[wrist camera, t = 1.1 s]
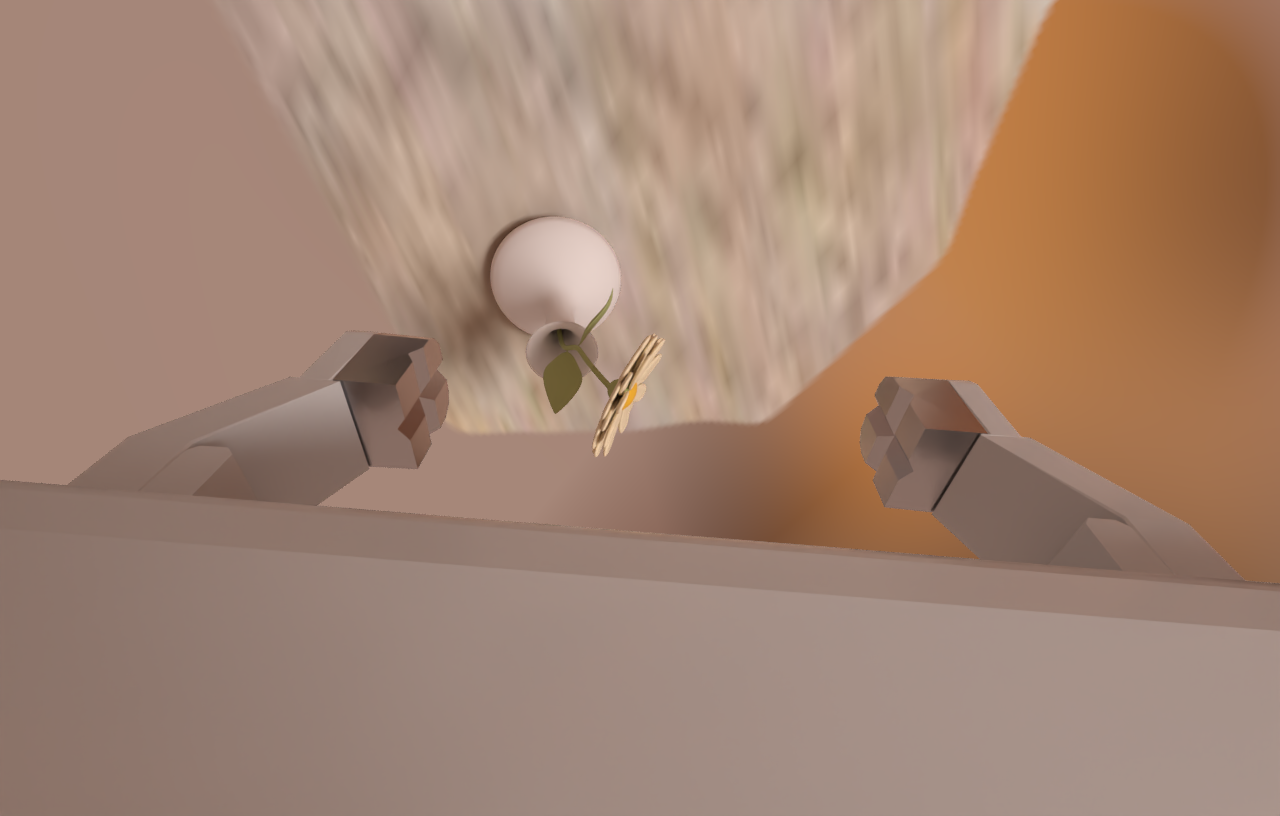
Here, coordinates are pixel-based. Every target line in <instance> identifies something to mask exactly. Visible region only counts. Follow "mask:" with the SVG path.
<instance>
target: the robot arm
mask: <svg viewBox="0 0 1280 816" xmlns="http://www.w3.org/2000/svg"><path fill="white" fill-rule="evenodd" d="M442 360H443V358H442V353H441V349H440V345H439V343H438V342H437V341H436V340H435V339H434V338H426V337H417V336H407V335H397V334H387V333H378V332H368V331H346V332H345V333H344V334H343V335H342V336H341V337H340V338H339V339H338V340H337V341H336V342H335V343H334V344H333V345H332V346H331V347H330V348H329V349H328V350H327V351H326V352H325V353H324V354H323V355H322V356H321V357H320V358H319V359H317V360H316V361H315V363H313V364H312V365H311V366H310V367H309V368H308V369H307V370H306V371H305V372H304V373H303V374H302V375H301V376H300V377H299V378H296V377H288V378H286V379H283V380H281V381H278V382H275V383H273V384H270V385H267V386H264V387H262V388H259V389H256V390H253V391H251V392H248V393H245V394H243V395H240V396H237V397H235V398H232V399H229V400H226V401H224V402H221V403H219V404H216V405H213V406H210V407H208V408H205V409H202V410H200V411H197V412H195V413H192V414H189V415H186V416H184V417H181V418H178V419H175V420H173V421H170V422H167V423H165V424H162V425H159V426H157V427H154V428H151V429H148V430H146V431H143V432H141V433H138V434H135V435H132V436H130V437H128V438H126V439H125V440H124V441H123V442H121V443H120V444H119V445H117V446H116V447H115V448H113V449H112V450H111V451H110V452H108V453H107V454H106V455H105V456H103V457H102V458H101V459H100V460H98V461H97V462H96V463H94V464H93V465H92V466H91V467H89V468H88V469H87V470H86V471H84V472H83V473H82V474H80V475H79V476H78V477H77V478H75V479H74V480H73V481H72V482H70V483H69V484H68V485H57V484H43V483H32V482H20V481H7V480H0V816H1280V584H1279V583H1267V582H1253V581H1245V580H1244V579H1243V578H1242V577H1241V576H1240V575H1239V574H1238V573H1237V572H1236V571H1235V570H1234V569H1233V568H1232V567H1231V566H1230V565H1229V564H1228V563H1227V562H1226V561H1225V560H1224V559H1223V558H1222V557H1221V556H1220V555H1219V554H1218V553H1217V552H1216V551H1215V550H1214V549H1213V548H1212V547H1211V546H1210V545H1209V544H1208V543H1207V542H1206V541H1205V540H1204V539H1203V538H1202V537H1201V536H1200V535H1199V534H1198V533H1197V532H1196V531H1195V530H1194V529H1193V528H1192V527H1191V526H1190V525H1189V524H1187V523H1185V522H1183V521H1182V520H1180V519H1178V518H1176V517H1174V516H1172V515H1170V514H1169V513H1167V512H1165V511H1163V510H1161V509H1160V508H1158V507H1156V506H1154V505H1152V504H1150V503H1149V502H1147V501H1145V500H1143V499H1141V498H1139V497H1137V496H1136V495H1134V494H1132V493H1130V492H1128V491H1126V490H1125V489H1123V488H1121V487H1119V486H1117V485H1116V484H1114V483H1112V482H1110V481H1108V480H1106V479H1105V478H1102V477H1101V476H1099V475H1097V474H1095V473H1093V472H1092V471H1090V470H1088V469H1086V468H1084V467H1083V466H1081V465H1079V464H1077V463H1075V462H1073V461H1072V460H1070V459H1068V458H1066V457H1064V456H1062V455H1060V454H1059V453H1057V452H1055V451H1053V450H1051V449H1050V448H1048V447H1046V446H1044V445H1042V444H1040V443H1039V442H1037V441H1035V440H1033V439H1031V438H1025V437H1021V436H1020V435H1019V434H1018V433H1017V431H1016V430H1015V429H1014V428H1013V427H1012V425H1011V424H1010V423H1009V422H1008V421H1007V419H1006V418H1005V417H1004V416H1003V415H1002V413H1001V412H1000V411H999V410H998V409H997V407H996V406H995V405H994V404H993V402H992V401H991V400H990V399H989V398H988V396H987V395H986V394H985V393H984V392H983V390H982V389H981V388H980V387H979V386H978V384H975V383H973V382H971V381H959V380H937V379H936V380H935V379H919V378H902V377H885V378H884V379H883V381H882V382H881V383H880V384H879V386H878V389H877V391H876V393H875V397H876V400H877V402H878V405H879V406H877V407H876V408H875V409H873V410H872V411H871V412H869V413H868V414H867V415H866V417H865V420H864V422H863V425H862V428H861V435H860V447H861V453H862V456H863V458H864V461H865V463H866V464H868V465H869V466H870V467H871V468H873V469H874V470H875V471H877V472H876V474H875V476H874V479H873V482H874V484H875V486H876V489H877V491H878V493H879V495H880V498H881V500H882V502H883V505H884V507H889V508H898V509H906V510H916V511H925V512H933V513H932V515H933V516H934V517H935V518H936V519H938V520H939V521H940V522H941V523H942V524H943V525H944V526H945V527H946V528H947V529H948V530H949V531H950V532H951V533H953V534H954V535H955V536H956V537H957V538H958V539H959V540H960V541H961V542H962V543H963V544H965V545H966V546H967V547H968V548H969V549H970V550H971V551H972V552H973V553H974V554H975V555H976V556H977V557H979V558H980V559H969V558H955V557H944V556H932V555H919V554H906V553H895V552H882V551H870V550H858V549H845V548H833V547H821V546H808V545H797V544H783V543H772V542H759V541H748V540H735V539H723V538H710V537H696V536H683V535H672V534H659V533H647V532H634V531H622V530H610V529H598V528H586V527H573V526H561V525H548V524H536V523H523V522H511V521H499V520H486V519H475V518H463V517H450V516H437V515H426V514H413V513H401V512H389V511H376V510H364V509H352V508H339V507H327V506H317V505H318V504H320V503H321V502H323V501H324V500H325V499H327V498H328V497H330V496H331V495H333V494H334V493H335V492H337V491H338V490H340V489H341V488H343V487H344V486H346V485H347V484H348V483H350V482H351V481H353V480H354V479H355V478H357V477H358V476H360V475H361V474H363V473H364V472H366V471H367V470H368V469H369V466H370V467H388V468H408V469H418V467H419V466H420V464H421V462H422V460H423V459H424V457H425V455H426V453H427V452H428V450H429V448H430V446H431V444H432V443H431V439H430V434H431V433H433V432H434V431H436V430H438V429H439V428H441V426H442V424H443V422H444V420H445V418H446V414H447V410H448V405H449V390H448V384H447V380H446V379H445V378H444V376H443V375H442V374H441V373H440V372H439V371H438V370H437V368H438V367H439V365H440V363H441V362H442Z"/></svg>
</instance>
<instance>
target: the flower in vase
mask: <svg viewBox="0 0 1280 816" xmlns="http://www.w3.org/2000/svg"><path fill="white" fill-rule="evenodd" d="M490 281H491V288H492V292H493V295H494V298H495V300H496V302H497V304H498V306H499V307H500V309H501V310H502V312H503V313H504V314H505V315H506V317H507V318H508V319H509V320H510V321H511V322H512V323H513V324H514V325H516V326H517V327H518V328H520V329H521V330H523V331H525V332H526V333H528V334H531V335H532V336H531V337H530V339H529V341H528V343H527V347H526V358H527V361H528V364H529V365H530V367H531V369H532V370H533V371H534V372H535V373H536V374H537V375H539V376H540V377H542V378H543V380H544V386H545V390H546V393H547V396H548V399H549V402H550V404H551V407H552V409H553V411H554V413H555V414H556V413H558V412H559V411H560V410H561V409H562V408H563V407H564V406H565V405H566V404H567V403H568V402H569V401H570V400H571V399H572V398H573V396H574V395H575V394H576V392H577V391H578V389H579V387H580V385H581V383H582V377H584V376H585V375H587V374H588V373H589V372H590V371H591V370H592V372H593V373H594V374H595V375H596V376H597V377H598V379H599V380H600V381H601V382H602V383H603V384H604V385H605V386H606V387H607V389H608V395H609V397H610V399H609V400H608V402H607V404H606V406H605V408H604V411H603V413H602V416H601V419H600V421H599V424H598V426H597V429H596V432H595V436H594V439H593V443H592V448H593V451H592V452H593V453H594V455H595V457H597V456H598V455H599V453H600V451H601V448H602V447H603V450H604V452H603V454H604V456H606V455H607V454H608V452H609V450H610V448H611V445H612V442H613V439H614V436H615V433H616V430H617V427H618V429H619V432H620V433H622V432H623V431H624V430H625V428H626V426H627V423H628V419H629V412H630V411H631V409H632V406H633V403H634V402H637V401H639V400H641V399H642V397H643V396H644V394H645V392H646V389H647V387H646V385H645V384H641V383H642V382H643V381H644V380H645V379H646V378H647V377H648V375H649V373H650V372H651V371H652V370H653V369H654V368H655V366H656V365H657V364H658V362H659V361H660V359H661V356H662V354H658V355H657V353H658V352H659V350H660V349H661V347H662V346H663V344H664V342H665V339H662V338H659V339H658V340H657V335H655V334H652V335H651V336H650V335H649V336H647V337H646V338H645V340H644V341H643V342H642V344H641V345H640V346H639V348H638V349H637V351H636V352H635V354H634V355H633V357H632V358H631V360H630V361H629V363H628V364H627V366H626V367H625V369H624V370H623V372H622V374H621V376H620V378H619V379H617V380H614V381H612V382H611V383H609V382H608V381H607V379H606V378H605V377H604V376H603V375H602V374H601V373H600V372H599V371H598V369H597V368H596V367H595V364H596V361H597V358H598V345H597V342H596V340H595V338H594V337H593V335H592V334H591V333H590V332H591V331H592V330H594V329H595V328H597V327H598V326H599V325H600V324H601V323H602V322H604V321H605V319H606V318H607V317H608V316H609V314H610V313H611V311H612V310H613V308H614V307H615V304H616V302H617V300H618V297H619V294H620V289H621V269H620V265H619V261H618V259H617V256H616V254H615V252H614V250H613V248H612V247H611V245H610V244H609V243H608V241H607V240H606V239H605V238H604V237H603V236H602V235H601V234H600V233H599V232H597V231H596V230H595V229H593V228H592V227H590V226H588V225H587V224H585V223H582V222H580V221H578V220H574V219H571V218H566V217H558V216H555V217H542V218H537V219H534V220H530V221H528V222H526V223H524V224H522V225H520V226H518V227H517V228H515V229H514V230H513V231H511V232H510V233H509V234H508V235H507V236H506V237H505V238H504V239H503V240H502V242H501V243H500V245H499V246H498V248H497V250H496V252H495V254H494V257H493V260H492V264H491V270H490ZM656 340H657V341H656ZM656 355H657V356H656ZM602 445H603V446H602Z"/></svg>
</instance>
